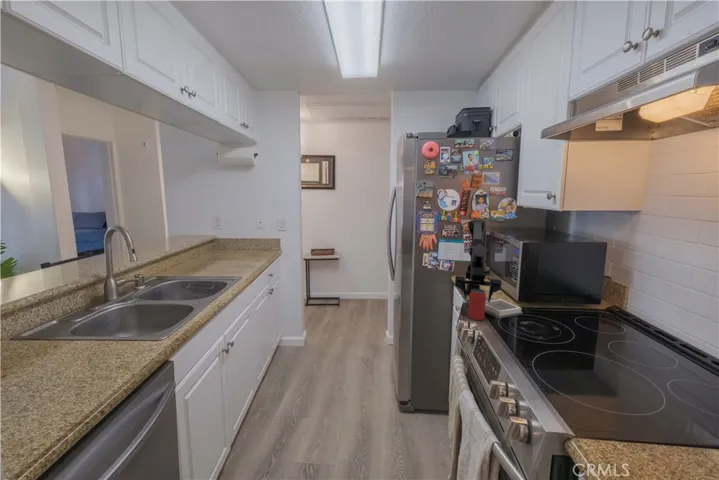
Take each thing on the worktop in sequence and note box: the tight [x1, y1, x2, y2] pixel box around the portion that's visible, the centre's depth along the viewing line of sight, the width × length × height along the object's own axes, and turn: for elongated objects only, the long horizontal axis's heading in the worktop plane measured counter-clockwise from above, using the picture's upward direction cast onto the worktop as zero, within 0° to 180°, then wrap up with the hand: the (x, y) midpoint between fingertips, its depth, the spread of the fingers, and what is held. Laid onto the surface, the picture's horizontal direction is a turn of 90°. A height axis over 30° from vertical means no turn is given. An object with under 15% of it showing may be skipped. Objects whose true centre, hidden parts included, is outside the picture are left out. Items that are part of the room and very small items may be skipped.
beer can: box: [467, 288, 487, 321], centre depth 135 cm, size 7×7×12 cm
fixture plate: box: [465, 297, 524, 320], centre depth 146 cm, size 20×14×3 cm
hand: (477, 300), depth 134 cm, fingers open, 9 cm apart
